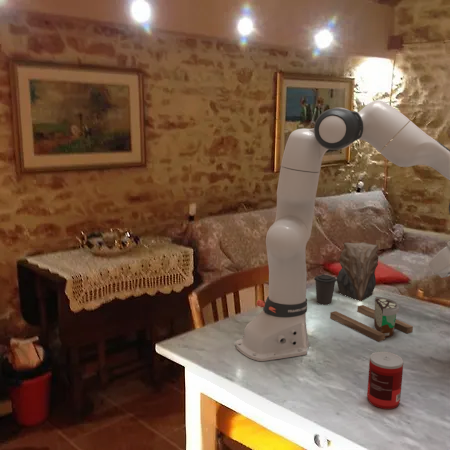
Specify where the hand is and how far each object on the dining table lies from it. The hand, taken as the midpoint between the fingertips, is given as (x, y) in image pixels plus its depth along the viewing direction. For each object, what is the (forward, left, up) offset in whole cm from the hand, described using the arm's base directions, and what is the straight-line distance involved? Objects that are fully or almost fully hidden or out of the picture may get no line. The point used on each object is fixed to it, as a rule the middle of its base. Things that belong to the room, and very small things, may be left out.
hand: (442, 275), depth 147 cm
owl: (+16, +49, -24) cm, 57 cm away
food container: (-1, +18, -24) cm, 30 cm away
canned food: (-33, -11, -24) cm, 42 cm away
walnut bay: (-1, +25, -24) cm, 34 cm away
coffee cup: (0, +49, -24) cm, 54 cm away
